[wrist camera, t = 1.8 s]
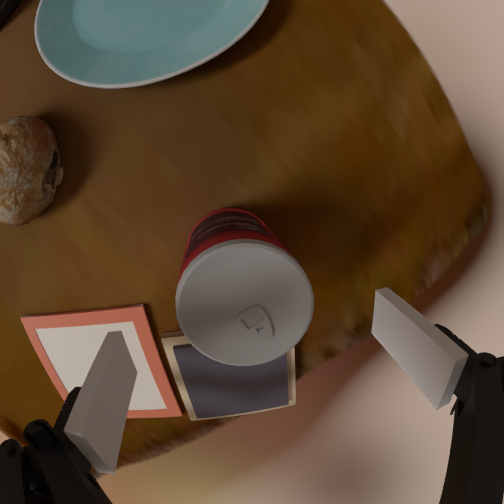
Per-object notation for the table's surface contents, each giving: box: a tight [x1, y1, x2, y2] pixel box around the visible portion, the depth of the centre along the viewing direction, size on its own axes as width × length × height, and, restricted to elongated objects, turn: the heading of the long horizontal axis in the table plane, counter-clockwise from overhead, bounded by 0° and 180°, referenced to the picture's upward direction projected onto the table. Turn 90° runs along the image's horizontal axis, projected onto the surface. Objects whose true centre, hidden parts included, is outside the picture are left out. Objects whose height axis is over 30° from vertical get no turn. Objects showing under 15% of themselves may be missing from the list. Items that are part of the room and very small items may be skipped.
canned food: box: [176, 208, 314, 366], centre depth 21 cm, size 8×8×11 cm
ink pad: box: [161, 331, 296, 421], centre depth 30 cm, size 13×13×2 cm
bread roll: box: [0, 116, 64, 226], centre depth 18 cm, size 10×10×8 cm
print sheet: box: [21, 304, 182, 418], centre depth 28 cm, size 16×16×1 cm
